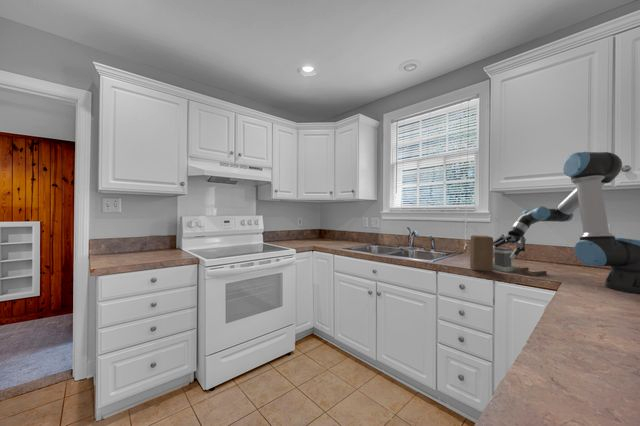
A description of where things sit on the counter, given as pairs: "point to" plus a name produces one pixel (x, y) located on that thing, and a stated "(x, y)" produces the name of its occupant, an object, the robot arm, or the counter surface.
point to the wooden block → (481, 253)
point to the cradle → (526, 271)
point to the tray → (505, 268)
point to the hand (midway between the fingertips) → (499, 256)
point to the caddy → (503, 257)
